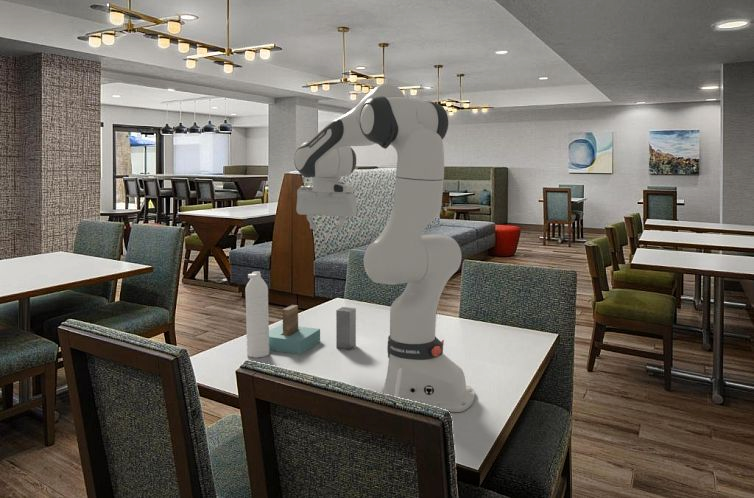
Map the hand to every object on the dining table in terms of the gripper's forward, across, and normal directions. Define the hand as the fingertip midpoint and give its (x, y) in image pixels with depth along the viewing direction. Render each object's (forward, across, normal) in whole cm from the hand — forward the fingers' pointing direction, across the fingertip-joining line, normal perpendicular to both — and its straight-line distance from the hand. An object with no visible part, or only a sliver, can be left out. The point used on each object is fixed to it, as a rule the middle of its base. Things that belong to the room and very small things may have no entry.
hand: (326, 229), depth 173 cm
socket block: (+35, -6, -14) cm, 38 cm away
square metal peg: (+35, +11, -9) cm, 38 cm away
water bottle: (+35, -10, -26) cm, 45 cm away
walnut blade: (+35, -6, -14) cm, 38 cm away
